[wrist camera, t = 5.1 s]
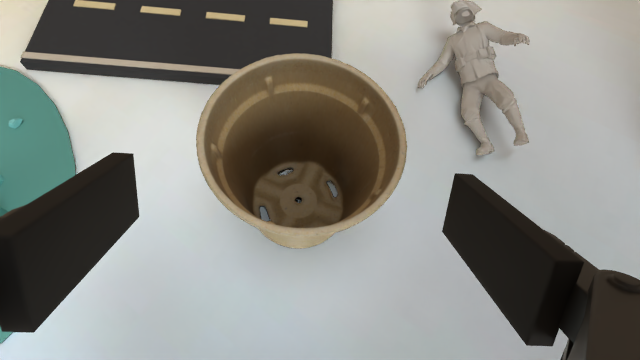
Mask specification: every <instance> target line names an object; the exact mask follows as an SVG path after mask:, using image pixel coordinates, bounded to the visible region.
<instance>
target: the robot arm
mask: <svg viewBox="0 0 640 360" xmlns="http://www.w3.org/2000/svg"><path fill="white" fill-rule="evenodd" d="M138 217H139V209H138V199H137V189H136V178H135V168H134V158H133V154H128V153H111V154H110V155H108V156H106V157H105V158H103V159H101V160H100V161H98V162H96V163H95V164H93V165H91V166H90V167H88V168H87V169H85V170H83V171H82V172H80V173H78V174H77V175H75V176H73V177H72V178H70V179H68V180H67V181H65V182H63V183H62V184H60V185H58V186H57V187H55V188H53V189H52V190H50V191H48V192H47V193H45V194H43V195H42V196H40V197H38V198H37V199H35V200H33V201H32V202H30V203H28V204H27V205H24V206H21V207H18V208H15V209H12V210H11V211H9V212H7V213H6V214H4V215H2V216H0V327H1V331H2V332H35V330H36V329H37V328H38V327H39V326H40V325H41V324H42V323H43V322H44V321H45V320H46V318H47V317H48V316H49V315H50V314H51V313H52V312H53V311H54V310H55V309H56V307H57V306H58V305H59V304H60V303H61V302H62V301H63V300H64V299H65V298H66V296H67V295H68V294H69V293H70V292H71V291H72V290H73V289H74V288H75V287H76V285H77V284H78V283H79V282H80V281H81V280H82V279H83V278H84V277H85V276H86V275H87V273H88V272H89V271H90V270H91V269H92V268H93V267H94V266H95V265H96V264H97V262H98V261H99V260H100V259H101V258H102V257H103V256H104V255H105V254H106V253H107V251H108V250H109V249H110V248H111V247H112V246H113V245H114V244H115V243H116V242H117V240H118V239H119V238H120V237H121V236H122V235H123V234H124V233H125V232H126V231H127V230H128V228H129V227H130V226H131V225H132V224H133V223H134V222H135V221H136V220H137V219H138ZM442 232H443V233H444V235H445V236H446V237H447V239H448V240H449V241H450V243H451V244H452V245H453V247H454V248H455V249H456V251H457V252H458V253H459V255H460V256H461V258H462V259H463V260H464V262H465V263H466V264H467V266H468V267H469V268H470V270H471V271H472V272H473V274H474V275H475V276H476V278H477V279H478V280H479V282H480V283H481V285H482V286H483V287H484V289H485V290H486V291H487V293H488V294H489V295H490V297H491V298H492V299H493V301H494V302H495V303H496V305H497V306H498V308H499V309H500V310H501V312H502V313H503V314H504V316H505V317H506V318H507V320H508V321H509V322H510V324H511V325H512V326H513V328H514V329H515V330H516V332H517V333H518V335H519V336H520V337H521V339H522V340H523V341H524V343H525V344H526V345H531V346H553V343H554V341H555V338H556V335H557V333H558V330H559V328H560V329H561V330H562V331H563V332H564V334H565V335H566V336H567V337H568V338H569V340H568V342H567V345H566V347H565V350H564V352H563V355H562V357H561V360H640V280H639V279H637V278H634V277H632V276H630V275H627V274H624V273H620V272H617V271H612V270H599V269H597V268H596V267H595V266H593V265H592V264H591V263H590V262H588V261H587V260H586V259H584V258H583V257H582V256H580V255H579V254H578V253H577V252H574V250H573V249H571V248H570V247H569V246H567V245H565V243H564V242H562V241H561V240H560V239H558V238H557V237H556V236H554V235H553V234H551V233H549V232H547V231H545V230H543V229H541V228H540V227H539V226H538V225H536V224H535V223H534V222H532V221H531V220H530V219H529V218H527V217H526V216H525V215H524V214H522V213H521V212H520V211H518V210H517V209H516V208H515V207H513V206H512V205H511V204H509V203H508V202H507V201H506V200H504V199H503V198H502V197H501V196H499V195H498V194H497V193H495V192H494V191H493V190H492V189H490V188H489V187H488V186H487V185H485V184H484V183H483V182H481V181H480V180H479V179H478V178H476V177H475V176H474V175H472V174H455V176H454V180H453V185H452V189H451V194H450V198H449V203H448V208H447V212H446V217H445V221H444V226H443V230H442Z"/></svg>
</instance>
